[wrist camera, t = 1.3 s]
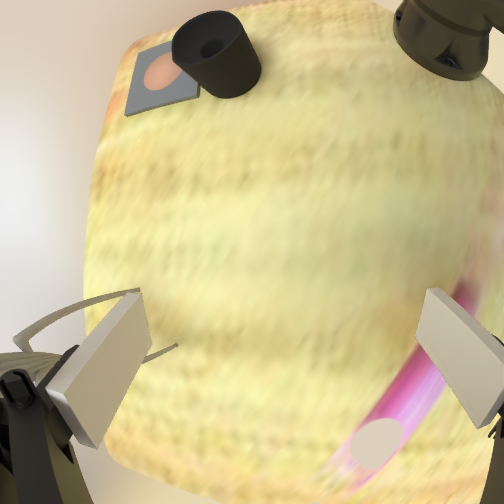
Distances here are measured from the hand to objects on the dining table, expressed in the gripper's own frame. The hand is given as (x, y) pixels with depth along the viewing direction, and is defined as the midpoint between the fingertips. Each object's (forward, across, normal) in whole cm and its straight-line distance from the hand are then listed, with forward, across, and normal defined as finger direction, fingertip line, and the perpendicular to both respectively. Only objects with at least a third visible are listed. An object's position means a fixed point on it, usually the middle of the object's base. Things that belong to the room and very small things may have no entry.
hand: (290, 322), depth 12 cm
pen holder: (+31, -5, +20) cm, 37 cm away
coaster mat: (+35, -17, +23) cm, 45 cm away
